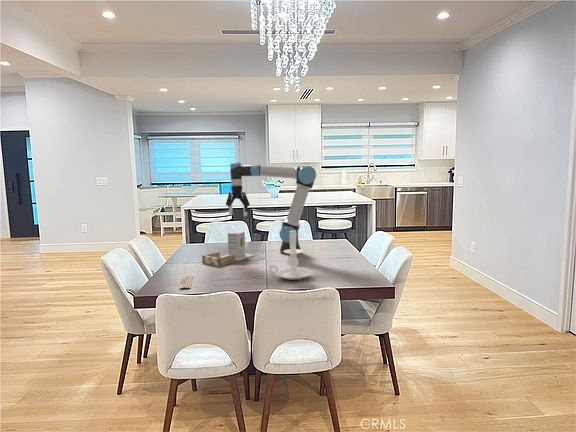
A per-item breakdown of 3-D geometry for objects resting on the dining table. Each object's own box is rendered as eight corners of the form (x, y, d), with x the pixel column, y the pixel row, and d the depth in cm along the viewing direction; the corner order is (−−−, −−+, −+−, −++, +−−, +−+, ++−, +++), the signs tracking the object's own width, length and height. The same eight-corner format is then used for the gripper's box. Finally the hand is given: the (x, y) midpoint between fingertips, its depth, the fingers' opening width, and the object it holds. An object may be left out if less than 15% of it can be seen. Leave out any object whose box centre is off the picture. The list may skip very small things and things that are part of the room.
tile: (254, 256, 280) (254, 254, 280) (237, 261, 266) (237, 259, 266) (236, 253, 290) (236, 252, 290) (220, 257, 276) (219, 256, 276)
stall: (235, 261, 265) (235, 254, 265) (219, 266, 254) (219, 258, 253) (218, 258, 275) (218, 251, 274) (202, 262, 263) (202, 255, 262)
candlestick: (264, 276, 230) (263, 228, 226) (304, 271, 238) (303, 225, 234) (274, 286, 211) (273, 234, 207) (317, 280, 219) (317, 230, 215)
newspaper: (190, 290, 209) (190, 286, 208) (176, 291, 207) (176, 287, 207) (193, 277, 232) (193, 274, 231) (180, 278, 230) (180, 275, 230)
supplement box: (240, 257, 273) (239, 233, 270) (228, 257, 275) (227, 233, 273) (245, 254, 282) (244, 231, 280) (233, 253, 284) (232, 230, 282)
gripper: (219, 185, 277) (221, 215, 280) (246, 185, 263) (248, 217, 266) (227, 184, 283) (228, 214, 286) (254, 184, 269) (255, 215, 272)
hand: (238, 215), depth 276 cm, fingers open, 13 cm apart
